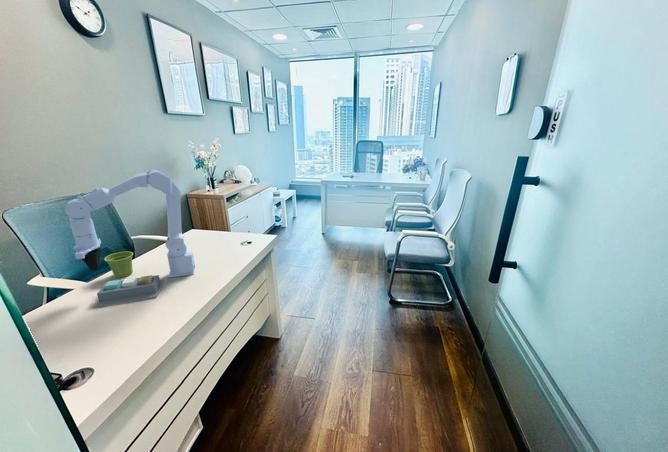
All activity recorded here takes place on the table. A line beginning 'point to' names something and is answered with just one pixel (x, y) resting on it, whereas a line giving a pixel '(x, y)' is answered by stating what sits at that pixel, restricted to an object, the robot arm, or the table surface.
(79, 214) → the robot arm
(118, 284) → the teal key
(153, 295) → the tray
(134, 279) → the ivory key
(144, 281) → the oak key
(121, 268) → the plant pot
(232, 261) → the table surface
